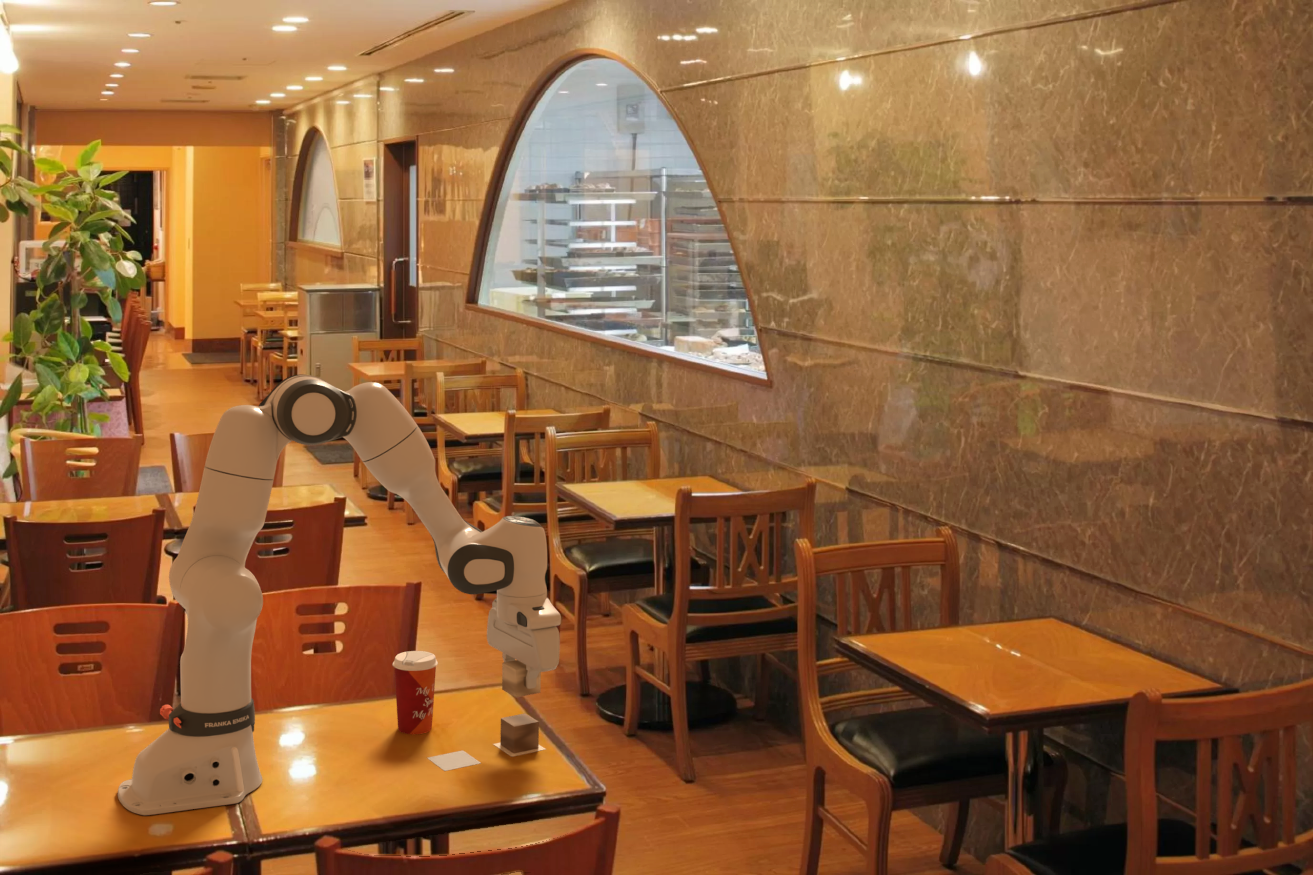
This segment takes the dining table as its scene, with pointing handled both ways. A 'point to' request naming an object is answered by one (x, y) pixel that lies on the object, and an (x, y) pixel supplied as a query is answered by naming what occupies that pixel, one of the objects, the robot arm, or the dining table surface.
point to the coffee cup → (415, 690)
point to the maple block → (517, 679)
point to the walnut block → (519, 733)
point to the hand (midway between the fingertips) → (520, 682)
